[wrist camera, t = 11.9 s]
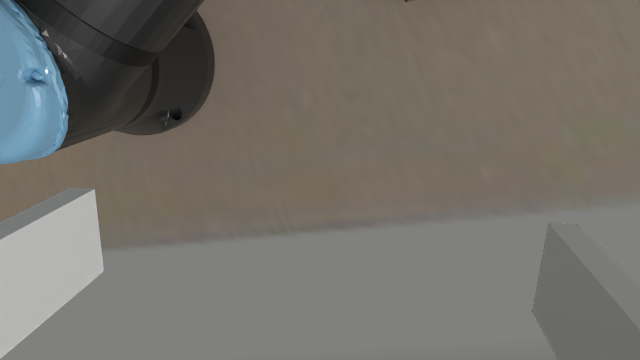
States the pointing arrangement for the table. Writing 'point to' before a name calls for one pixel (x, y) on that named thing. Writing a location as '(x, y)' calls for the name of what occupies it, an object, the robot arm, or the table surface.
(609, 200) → the table surface
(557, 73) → the table surface
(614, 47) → the table surface
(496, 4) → the table surface
